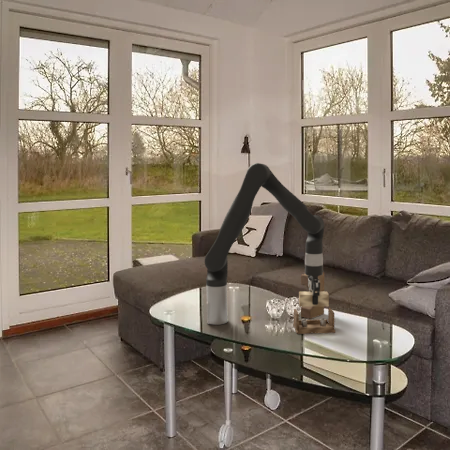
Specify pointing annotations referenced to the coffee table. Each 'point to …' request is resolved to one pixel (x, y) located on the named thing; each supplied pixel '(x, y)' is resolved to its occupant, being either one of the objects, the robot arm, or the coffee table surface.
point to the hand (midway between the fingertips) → (313, 302)
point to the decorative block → (312, 311)
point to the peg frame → (314, 324)
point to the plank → (306, 299)
